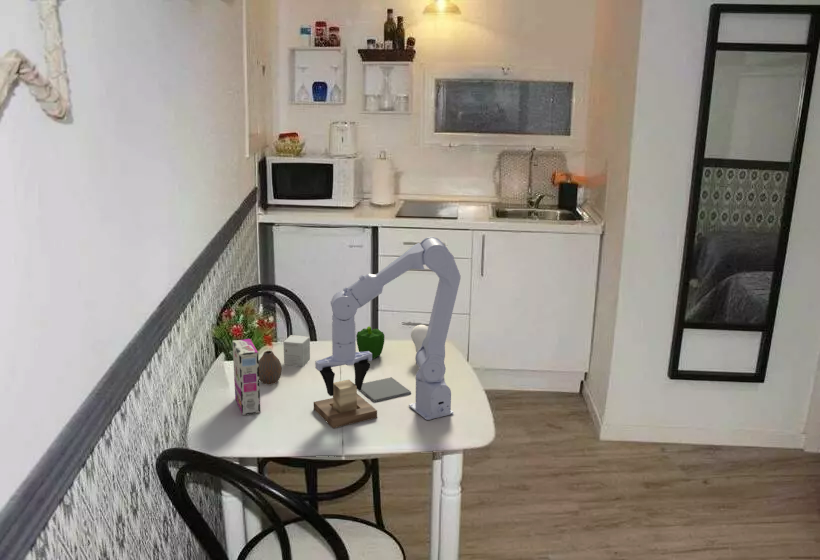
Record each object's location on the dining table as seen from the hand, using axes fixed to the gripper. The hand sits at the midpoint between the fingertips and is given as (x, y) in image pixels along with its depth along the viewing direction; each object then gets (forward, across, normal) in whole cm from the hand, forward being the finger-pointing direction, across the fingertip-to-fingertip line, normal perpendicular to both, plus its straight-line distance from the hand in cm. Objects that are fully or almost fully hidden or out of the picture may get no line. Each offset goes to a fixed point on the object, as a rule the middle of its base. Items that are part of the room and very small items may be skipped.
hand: (344, 391), depth 188 cm
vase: (+6, -10, +28) cm, 30 cm away
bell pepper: (+6, +23, +32) cm, 40 cm away
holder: (+6, 0, 0) cm, 6 cm away
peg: (+6, 0, 0) cm, 6 cm away
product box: (+6, +2, +38) cm, 39 cm away
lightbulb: (+6, +35, +22) cm, 42 cm away
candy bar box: (+6, -20, +16) cm, 26 cm away
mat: (+6, +15, +8) cm, 18 cm away
